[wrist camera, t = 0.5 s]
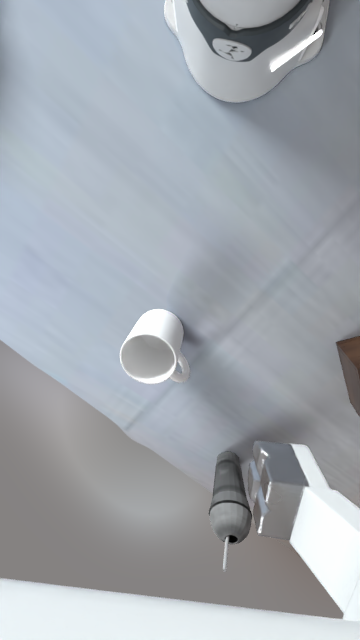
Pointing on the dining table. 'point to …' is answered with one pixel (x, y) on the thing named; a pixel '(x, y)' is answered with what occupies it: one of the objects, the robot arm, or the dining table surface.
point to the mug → (155, 349)
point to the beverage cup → (229, 503)
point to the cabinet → (351, 368)
